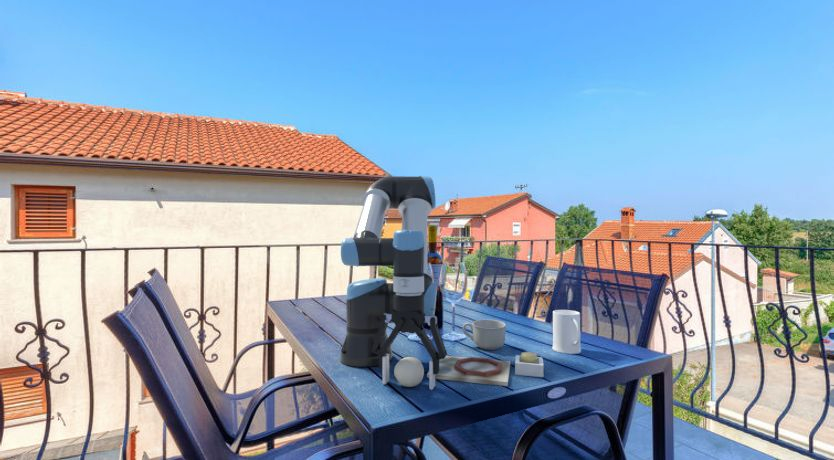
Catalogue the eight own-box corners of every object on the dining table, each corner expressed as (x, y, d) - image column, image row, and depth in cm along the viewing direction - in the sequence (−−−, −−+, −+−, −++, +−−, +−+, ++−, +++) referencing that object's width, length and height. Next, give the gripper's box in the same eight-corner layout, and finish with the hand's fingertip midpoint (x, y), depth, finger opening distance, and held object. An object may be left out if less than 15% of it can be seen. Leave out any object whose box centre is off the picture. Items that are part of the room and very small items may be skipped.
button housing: (515, 374, 100) (515, 363, 100) (515, 365, 106) (515, 355, 106) (543, 377, 98) (543, 365, 98) (542, 368, 104) (542, 357, 105)
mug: (591, 357, 114) (591, 316, 114) (563, 357, 114) (562, 317, 114) (573, 346, 126) (573, 309, 126) (548, 346, 126) (547, 309, 126)
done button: (521, 361, 101) (521, 355, 101) (521, 357, 105) (521, 351, 105) (537, 363, 100) (537, 356, 100) (536, 358, 104) (536, 352, 104)
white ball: (400, 378, 97) (400, 352, 97) (427, 382, 94) (427, 355, 94) (388, 388, 91) (388, 360, 91) (417, 393, 88) (417, 363, 88)
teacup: (509, 345, 127) (508, 320, 127) (501, 354, 117) (501, 327, 117) (468, 340, 133) (468, 317, 133) (458, 348, 123) (458, 323, 123)
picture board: (426, 377, 97) (426, 370, 98) (440, 358, 113) (440, 352, 113) (507, 386, 92) (507, 378, 92) (510, 364, 107) (510, 358, 107)
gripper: (357, 293, 93) (357, 385, 92) (453, 297, 86) (453, 396, 86) (369, 289, 100) (369, 374, 99) (459, 293, 93) (459, 384, 93)
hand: (408, 384), depth 92 cm, fingers open, 11 cm apart
